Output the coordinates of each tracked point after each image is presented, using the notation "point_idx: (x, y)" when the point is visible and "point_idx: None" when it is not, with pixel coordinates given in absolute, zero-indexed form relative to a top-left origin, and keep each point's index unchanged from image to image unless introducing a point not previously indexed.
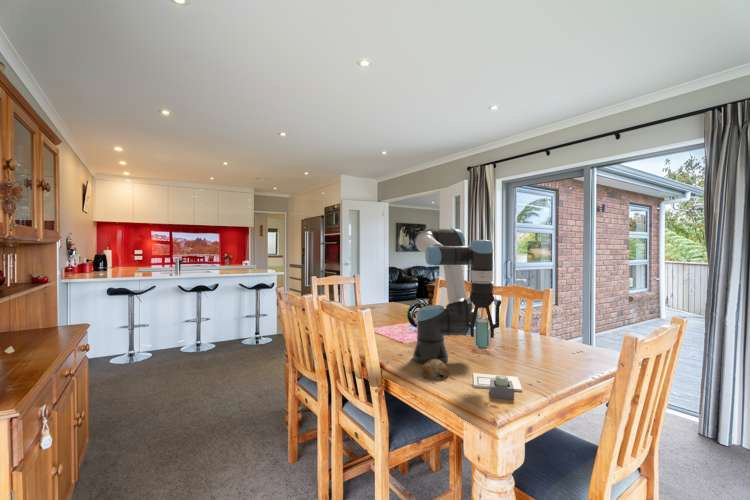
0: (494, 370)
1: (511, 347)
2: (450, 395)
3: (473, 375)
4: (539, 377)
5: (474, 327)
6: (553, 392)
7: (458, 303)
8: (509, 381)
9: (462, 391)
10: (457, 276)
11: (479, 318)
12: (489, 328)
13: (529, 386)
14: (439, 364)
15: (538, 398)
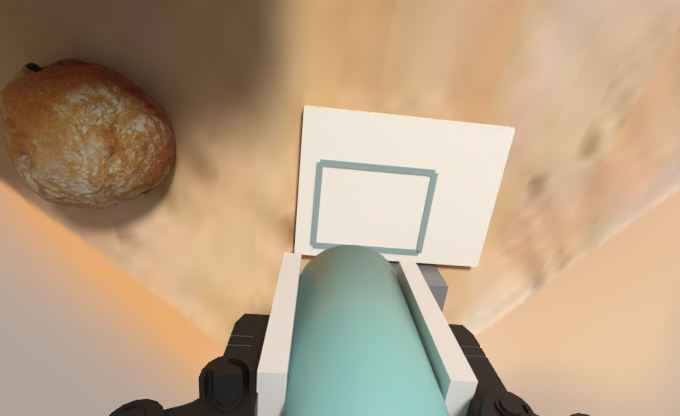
0: (432, 2)
1: None
2: (208, 331)
3: (302, 142)
4: (626, 85)
5: (266, 384)
6: (586, 249)
7: None
8: (437, 293)
9: (249, 294)
10: None
11: None
12: (461, 404)
13: (523, 206)
14: (98, 188)
15: (505, 305)
